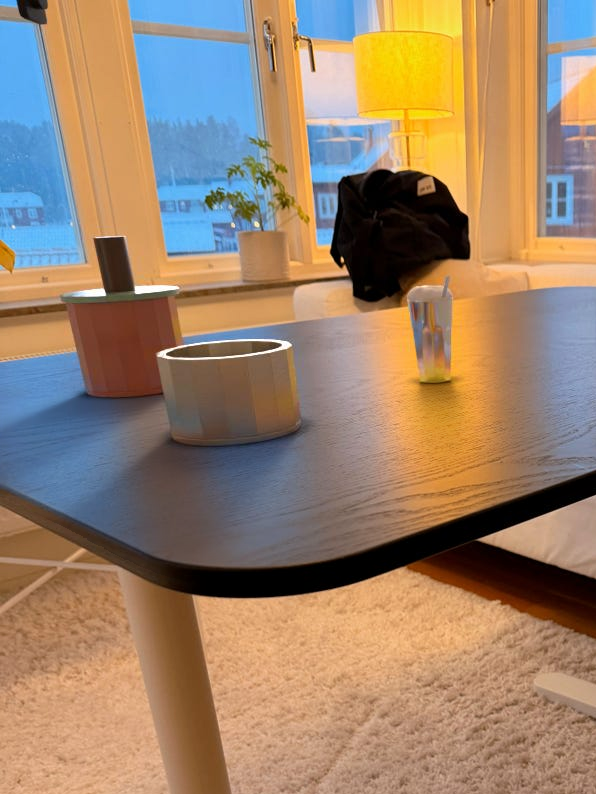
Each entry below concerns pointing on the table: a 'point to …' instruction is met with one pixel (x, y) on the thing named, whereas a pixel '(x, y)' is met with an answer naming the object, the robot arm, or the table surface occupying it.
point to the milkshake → (432, 330)
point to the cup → (123, 344)
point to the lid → (116, 277)
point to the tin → (230, 391)
